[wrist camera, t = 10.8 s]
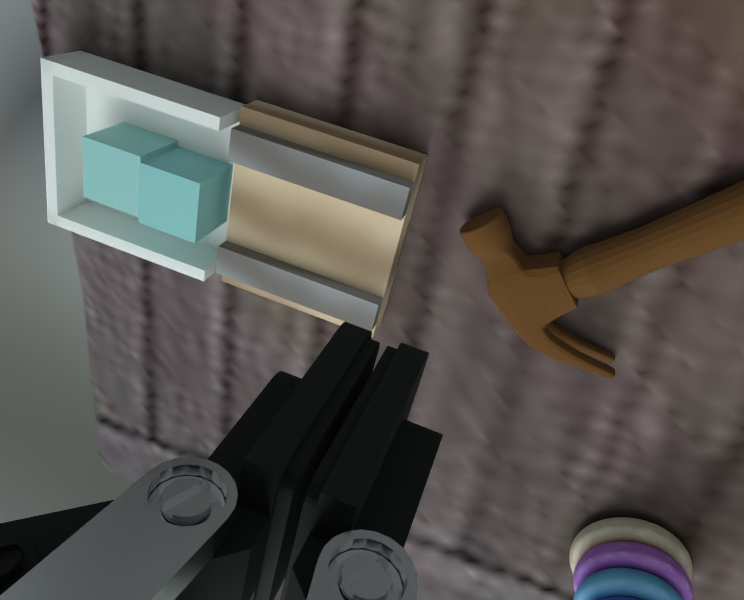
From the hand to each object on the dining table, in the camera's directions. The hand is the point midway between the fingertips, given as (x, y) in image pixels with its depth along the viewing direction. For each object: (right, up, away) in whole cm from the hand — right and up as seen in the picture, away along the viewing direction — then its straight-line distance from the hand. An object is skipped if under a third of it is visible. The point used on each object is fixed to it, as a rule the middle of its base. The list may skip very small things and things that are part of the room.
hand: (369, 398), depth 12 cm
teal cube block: (-11, +9, +31) cm, 34 cm away
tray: (-14, +11, +31) cm, 36 cm away
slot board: (-3, +7, +30) cm, 31 cm away
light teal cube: (-15, +11, +31) cm, 36 cm away
